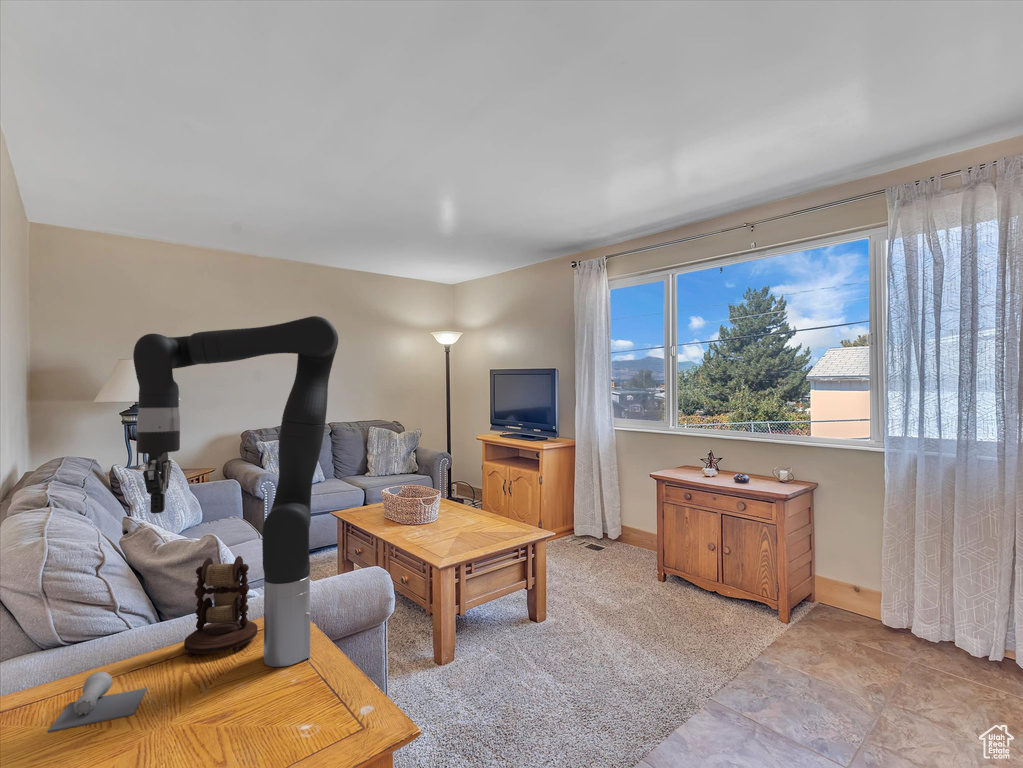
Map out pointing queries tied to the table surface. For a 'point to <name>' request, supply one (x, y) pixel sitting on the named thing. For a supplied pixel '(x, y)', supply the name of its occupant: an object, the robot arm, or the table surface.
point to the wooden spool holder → (221, 609)
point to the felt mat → (101, 710)
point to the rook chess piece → (93, 692)
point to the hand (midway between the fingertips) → (157, 512)
